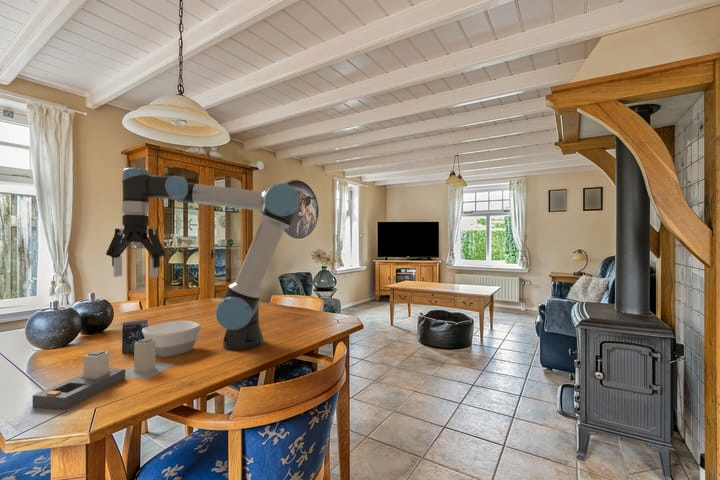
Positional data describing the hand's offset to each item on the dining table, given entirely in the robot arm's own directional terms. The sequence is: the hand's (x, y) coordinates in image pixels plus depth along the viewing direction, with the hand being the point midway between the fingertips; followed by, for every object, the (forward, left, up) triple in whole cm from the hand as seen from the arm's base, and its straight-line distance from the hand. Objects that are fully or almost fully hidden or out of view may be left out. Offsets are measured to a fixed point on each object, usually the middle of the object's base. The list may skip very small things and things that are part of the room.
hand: (135, 277), depth 116 cm
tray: (-10, +8, -29) cm, 31 cm away
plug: (-5, +20, -28) cm, 35 cm away
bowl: (-6, -10, -29) cm, 31 cm away
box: (+8, -9, -29) cm, 31 cm away
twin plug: (-10, +8, -28) cm, 31 cm away
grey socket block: (-5, +24, -29) cm, 38 cm away
